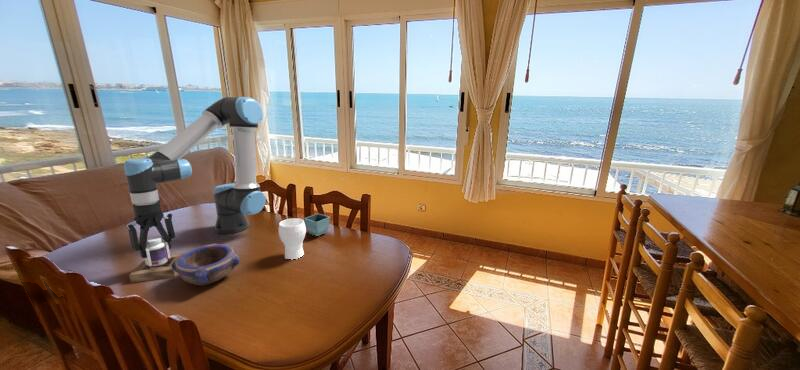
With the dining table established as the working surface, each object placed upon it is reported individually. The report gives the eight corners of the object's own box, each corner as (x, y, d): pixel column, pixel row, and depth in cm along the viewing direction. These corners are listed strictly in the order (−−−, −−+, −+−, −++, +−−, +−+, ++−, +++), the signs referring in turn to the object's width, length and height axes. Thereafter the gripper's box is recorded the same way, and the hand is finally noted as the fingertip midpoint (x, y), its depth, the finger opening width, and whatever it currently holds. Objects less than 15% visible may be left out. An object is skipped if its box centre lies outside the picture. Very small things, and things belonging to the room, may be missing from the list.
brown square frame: (186, 259, 121) (185, 253, 120) (174, 276, 109) (173, 269, 108) (147, 264, 117) (146, 257, 116) (130, 282, 105) (129, 275, 104)
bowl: (195, 300, 96) (190, 272, 93) (169, 283, 105) (164, 257, 103) (248, 275, 111) (244, 250, 108) (221, 261, 120) (218, 238, 117)
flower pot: (331, 233, 147) (330, 216, 145) (317, 240, 140) (316, 222, 138) (318, 229, 152) (317, 213, 150) (304, 235, 145) (303, 218, 143)
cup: (312, 255, 126) (310, 222, 122) (288, 264, 118) (285, 229, 114) (299, 247, 133) (297, 215, 129) (276, 255, 125) (273, 222, 121)
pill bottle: (171, 260, 114) (166, 237, 111) (156, 267, 109) (150, 243, 106) (161, 258, 115) (156, 235, 113) (146, 265, 110) (140, 241, 108)
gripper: (169, 194, 116) (179, 249, 121) (107, 208, 100) (122, 270, 105) (180, 197, 112) (190, 253, 118) (118, 211, 96) (133, 275, 102)
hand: (158, 261), depth 112 cm, fingers closed on pill bottle, 5 cm apart
